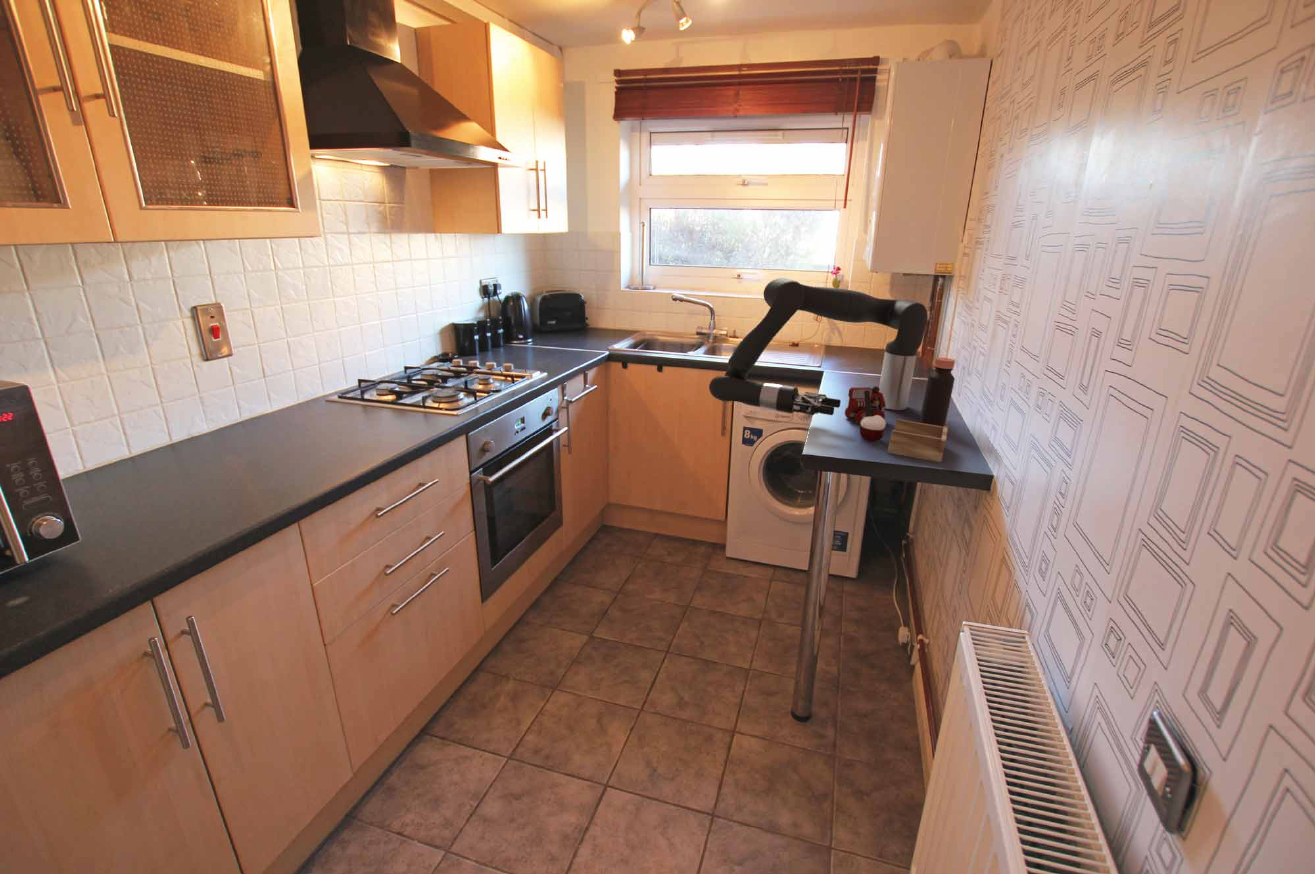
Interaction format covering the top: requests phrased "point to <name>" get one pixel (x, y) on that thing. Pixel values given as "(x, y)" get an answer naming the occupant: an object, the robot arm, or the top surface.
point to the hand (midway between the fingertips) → (837, 407)
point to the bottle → (938, 393)
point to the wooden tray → (918, 440)
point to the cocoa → (871, 423)
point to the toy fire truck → (858, 403)
